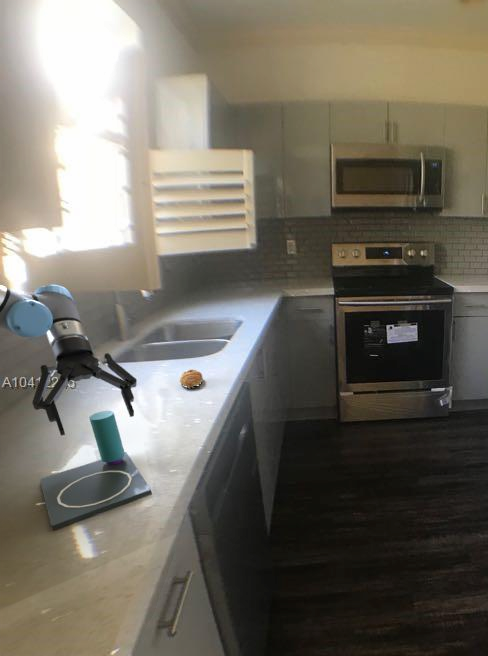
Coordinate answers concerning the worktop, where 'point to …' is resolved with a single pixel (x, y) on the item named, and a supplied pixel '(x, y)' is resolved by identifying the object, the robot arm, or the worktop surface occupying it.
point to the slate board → (91, 490)
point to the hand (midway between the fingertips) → (98, 423)
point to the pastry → (191, 378)
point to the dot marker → (107, 437)
